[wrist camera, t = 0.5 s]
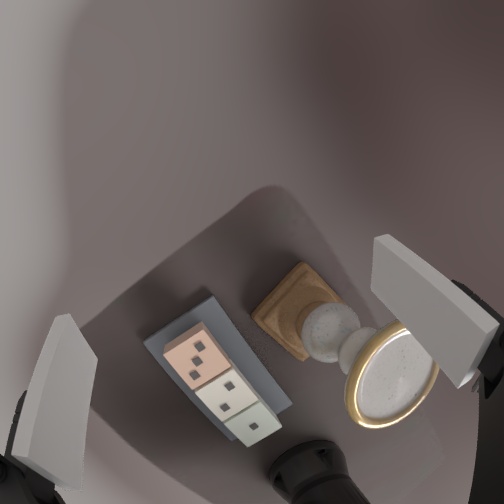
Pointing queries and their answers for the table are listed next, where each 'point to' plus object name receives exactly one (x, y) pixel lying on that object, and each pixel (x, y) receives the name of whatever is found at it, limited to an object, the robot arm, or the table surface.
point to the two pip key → (227, 393)
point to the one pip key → (253, 422)
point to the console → (233, 348)
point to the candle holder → (349, 348)
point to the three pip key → (196, 356)
